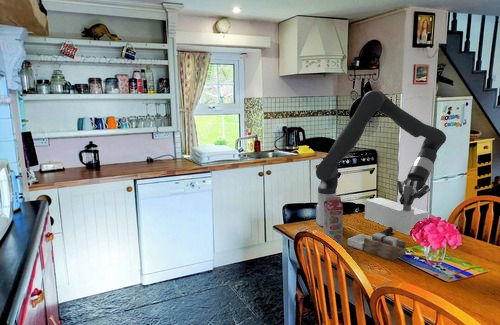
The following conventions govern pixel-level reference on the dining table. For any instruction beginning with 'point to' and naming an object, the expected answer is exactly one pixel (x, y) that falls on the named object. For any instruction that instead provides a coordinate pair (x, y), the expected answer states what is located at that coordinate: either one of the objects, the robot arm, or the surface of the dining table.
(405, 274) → the dining table surface
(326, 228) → the juice carton
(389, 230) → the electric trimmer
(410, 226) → the long white block
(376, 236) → the steel block
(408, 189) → the scraper
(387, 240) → the steel block
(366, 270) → the dining table surface
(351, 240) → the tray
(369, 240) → the wooden box
